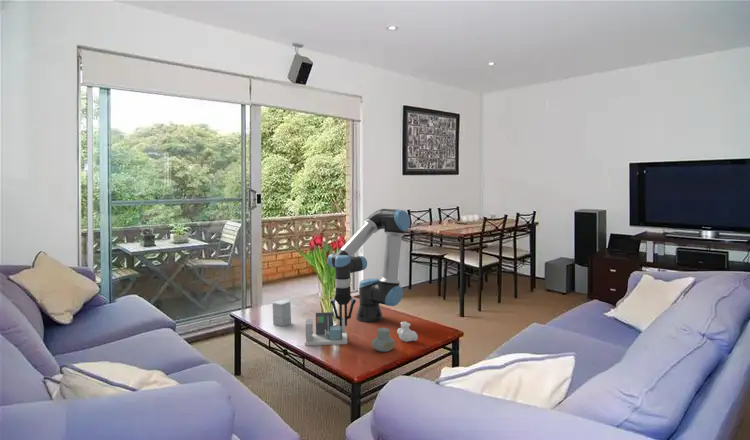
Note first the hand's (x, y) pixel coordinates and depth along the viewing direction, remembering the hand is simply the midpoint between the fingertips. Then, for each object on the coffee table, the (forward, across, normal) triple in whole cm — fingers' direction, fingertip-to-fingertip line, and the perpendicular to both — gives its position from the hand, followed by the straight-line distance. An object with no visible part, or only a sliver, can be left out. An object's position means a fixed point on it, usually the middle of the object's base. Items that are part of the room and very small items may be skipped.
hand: (343, 332), depth 232 cm
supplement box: (+5, +34, -30) cm, 46 cm away
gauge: (+3, +5, -1) cm, 6 cm away
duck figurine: (+5, -32, +3) cm, 32 cm away
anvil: (+3, +17, 0) cm, 17 cm away
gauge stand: (+5, +9, -1) cm, 10 cm away
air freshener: (+5, -19, +14) cm, 24 cm away
